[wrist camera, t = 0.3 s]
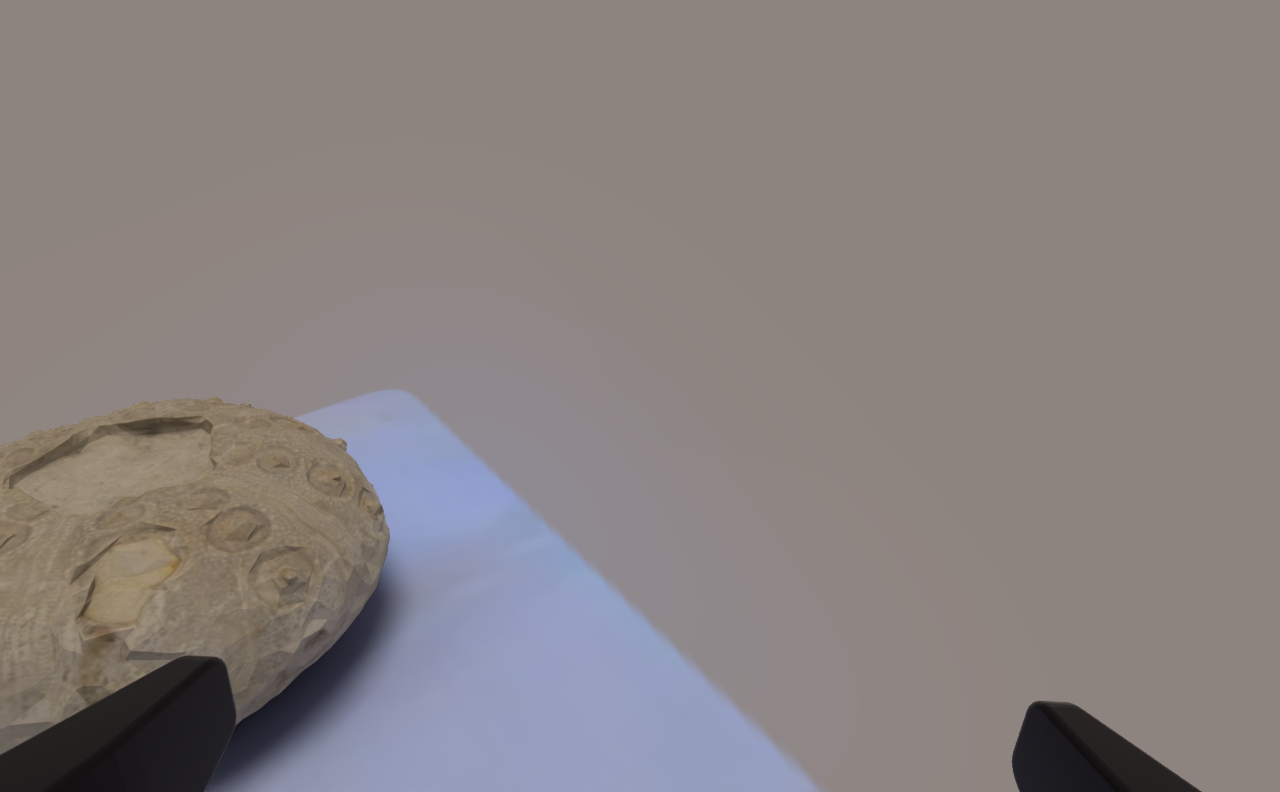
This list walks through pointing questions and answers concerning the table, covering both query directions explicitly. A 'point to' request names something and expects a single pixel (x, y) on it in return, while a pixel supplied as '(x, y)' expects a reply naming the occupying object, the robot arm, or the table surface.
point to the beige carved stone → (175, 554)
